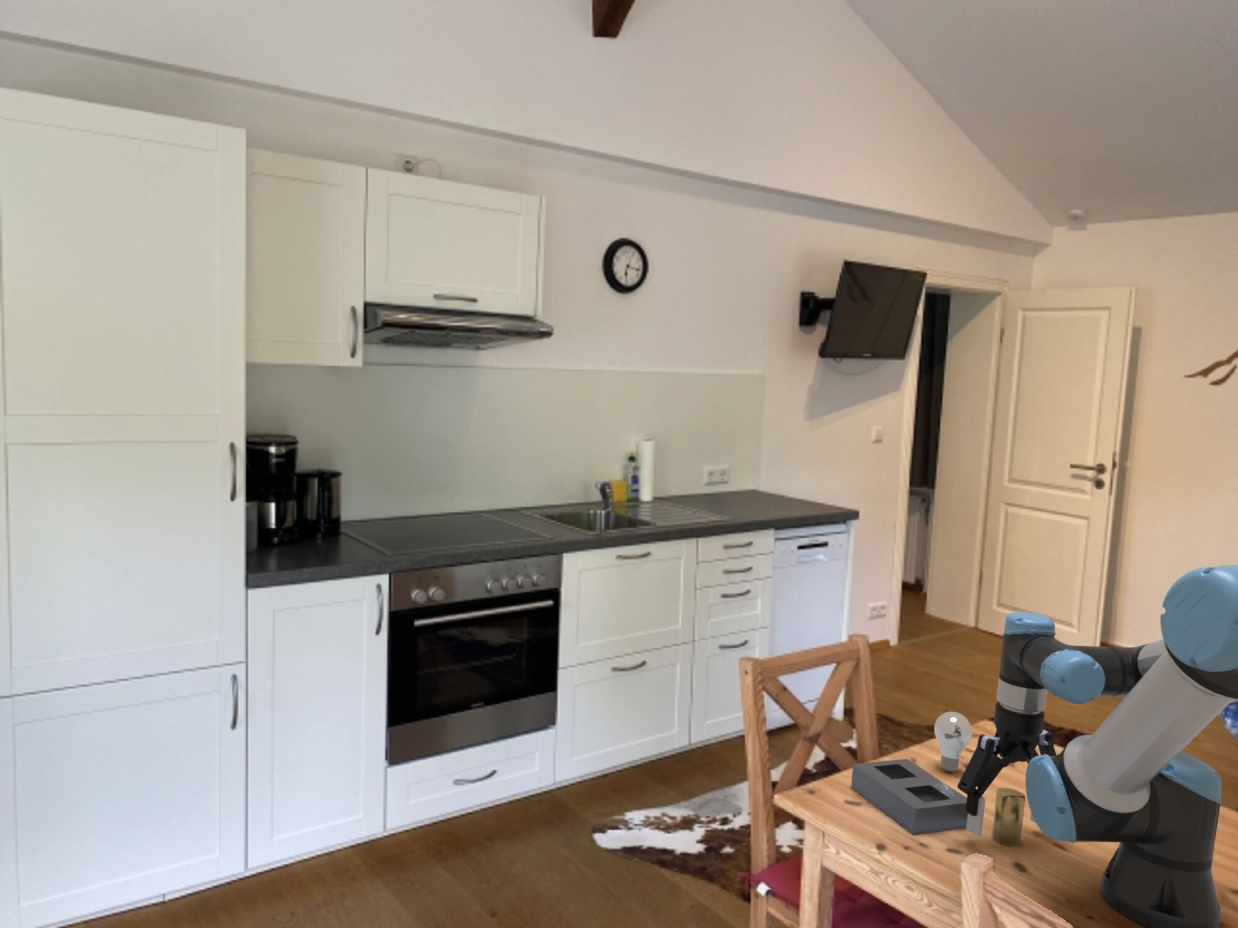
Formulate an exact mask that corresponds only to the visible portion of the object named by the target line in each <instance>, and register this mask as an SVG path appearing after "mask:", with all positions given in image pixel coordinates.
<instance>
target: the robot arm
mask: <svg viewBox="0 0 1238 928" xmlns="http://www.w3.org/2000/svg"><path fill="white" fill-rule="evenodd" d="M1161 606H1162V608H1163V609H1164V613H1161V614H1160V617H1159V620H1160V621H1159V622H1160V629H1161V635H1162V639H1160V640H1156V641H1152V642H1150V643H1145V644H1141V645H1138V646H1133V647H1131V646H1130V647H1124V646H1123V647H1122V646H1121V647H1119V646H1117V647H1116V646H1114V647H1113V646H1099V645H1098V646H1095V645H1075V644H1074V645H1071V644H1066V643H1064V642H1062V641H1060V640H1059V639H1057V638H1055V636H1056V624H1055V621H1054V620H1053V619H1052V618H1051V617H1048V616H1047V615H1043V614H1039V613H1034V612H1028V611H1015V612H1014V611H1013V612H1011V613H1009V614H1007V616H1006V618H1005V624H1004V629H1003V632H1002V635H1001V636H1002V642H1001V650H1000V661H999V663H1000V664H999V671H998V672H999V674H998V675H999V676H998V681H997V691H996V700H997V702H996V703H995V707H994V717H993V723H994V726H995V730H996V731H995V733H994V735H993V736H987V735H985V734H984V733H981V734H980V735H979V736H978V740H977V744H976V748H975V750H974V752H973V754H972V756H971V758H970V759H969V762H968V764H967V766H966V768H965V770H964V771H963V774H962V775H961V777H960V779H959V781H958V783H957V789H958V790H960V792H962V793H964V794H965V795H967V804H966V812H967V813H968V817H967V826H966V828H965V829H966V830H968V831H969V832H970V833H971V834H973V835H974V836H976V837H977V838H979V837H982V834H983V824H984V816H985V806H986V797H984V796H983V795H984V793H986V791H987V790H988V788H989V787H990V786H991V785H992V784H993V782H994V781H995V779H996V778H997V776H998V775H999V774H1000V773H1001V771H1002V770H1003V769H1004V768H1007V767H1008V766H1009V765H1010V764H1015V763H1018V762H1021V763H1024V762H1026V763H1027V767H1026V770H1025V792H1026V793H1025V794H1026V798H1027V804H1028V807H1029V810H1030V818H1029V821H1031V822H1033V823H1034V824H1036V826H1037V827H1038V828H1039V829H1040V831H1041V832H1042V833H1043V834H1044V835H1045V836H1047V837H1048V838H1049V839H1051V840H1053V841H1059V842H1069V843H1071V844H1074V843H1119V845H1118V846H1117V848H1116V850H1115V852H1114V853H1113V855H1112V857H1111V859H1110V861H1109V862H1108V864H1107V866H1106V868H1105V870H1104V872H1103V874H1102V878H1101V885H1100V887H1101V888H1100V892H1101V895H1102V897H1103V898H1104V900H1105V901H1106V902H1107V903H1108V904H1109V905H1110V906H1111V907H1112V908H1113V909H1115V910H1116V911H1117V912H1119V914H1122V915H1123V916H1125V917H1126V918H1128V919H1130V920H1132V921H1134V922H1137V923H1138V924H1141V925H1143V926H1145V927H1147V928H1220V922H1221V915H1222V913H1221V912H1222V910H1221V906H1220V903H1219V901H1218V896H1217V890H1216V886H1215V880H1214V877H1213V871H1212V869H1213V868H1212V867H1213V859H1214V853H1215V852H1214V850H1215V845H1216V844H1215V843H1216V836H1217V829H1218V822H1219V815H1220V811H1221V810H1220V809H1221V805H1222V803H1223V802H1222V798H1221V797H1222V778H1221V776H1220V774H1219V773H1218V771H1217V770H1216V769H1214V768H1213V767H1212V766H1211V765H1209V764H1208V763H1206V762H1204V761H1202V760H1200V759H1198V758H1196V757H1194V756H1191V755H1189V754H1187V753H1185V752H1182V751H1183V750H1184V748H1186V747H1187V746H1188V745H1189V744H1190V743H1192V741H1193V740H1194V739H1195V738H1196V737H1197V736H1198V735H1199V734H1201V732H1202V731H1203V730H1204V729H1205V728H1206V727H1207V726H1208V725H1209V724H1210V723H1211V722H1212V721H1213V720H1214V719H1215V718H1216V717H1217V716H1218V715H1219V714H1220V713H1221V712H1222V711H1224V709H1226V707H1227V706H1229V704H1231V702H1233V701H1238V565H1236V564H1227V565H1226V564H1224V565H1220V566H1204V567H1199V568H1196V569H1192V570H1190V571H1188V572H1186V573H1185V574H1183V575H1182V576H1180V577H1179V578H1178V579H1176V581H1175V582H1174V583H1172V585H1171V586H1170V588H1169V589H1168V590H1167V592H1166V594H1165V597H1164V599H1163V602H1162V605H1161ZM1048 692H1049V693H1050V694H1052V695H1053V696H1055V697H1058V698H1059V699H1061V700H1064V701H1066V702H1068V703H1070V704H1074V705H1084V704H1085V705H1086V704H1088V703H1090V702H1091V701H1094V700H1096V699H1097V698H1098V697H1122V698H1123V697H1124V698H1123V699H1122V700H1121V702H1119V704H1118V705H1117V706H1116V707H1115V708H1114V709H1113V711H1112V712H1111V713H1110V714H1109V715H1108V716H1107V718H1106V719H1105V720H1104V721H1103V722H1102V723H1101V724H1100V726H1099V727H1098V728H1097V729H1096V730H1095V731H1094V732H1093V734H1083V735H1079V736H1077V737H1074V738H1073V739H1072V740H1070V742H1068V743H1067V745H1066V746H1065V747H1064V748H1063V750H1062V751H1061V752H1060V753H1059V754H1057V752H1056V749H1055V735H1054V733H1051V732H1049V731H1047V730H1046V729H1044V724H1045V715H1046V713H1045V710H1046V708H1047V699H1048ZM1037 747H1038V750H1039V753H1038V752H1037V750H1036V748H1037ZM998 755H999V756H998Z"/></svg>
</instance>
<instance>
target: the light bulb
mask: <svg viewBox="0 0 1238 928" xmlns="http://www.w3.org/2000/svg"><path fill="white" fill-rule="evenodd" d="M933 730H934V736H935V738H936V740H937V742H938V743H939V748H940V749H939V750H940V754H941V757H940V758H941V759H940V766H941V767H942V769H943V770H945V772H947V773H948V774H949V773H953V772H955V771H957V770H958V768H959V766H960V765H959V764H960V758H961V756H962V753H963V750H964V749H965V747H967V745H968V744H969V743H970V741H971V739H972V736H973V729H972V725H971V723H970V721H969V720H968V718H967V717H965V715H963V714H961V713H960V712H957V711H946V712H944V713H942V714H940V715H939V717H938V718H937V719H936V720H935V722H934V729H933Z"/></svg>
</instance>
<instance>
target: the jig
mask: <svg viewBox="0 0 1238 928" xmlns="http://www.w3.org/2000/svg"><path fill="white" fill-rule="evenodd" d="M850 784H851V785H850V788H851V789H853V790H854V791H855V792H856V793H858V795H860V796H862V797H863V798H864V799H866V800H867V801H868V802H870V803H871V805H873V806H874V807H876V808H877V809H879V810H880V811H882V813H884V814H885V815H887V816H888V817H889V818H890V819H892V820H893V821H894V822H896V823H897V824H898V825H899V826H900V827H902V828H903V829H905V830H906V831H908V832H909V833H910V834H911V835H914V836H915V835H922V834H929V833H930V834H931V833H938V832H944V831H951V830H959V829H960V830H961V829H966V826H967V817H968V813H967V812H966V804H967V797H966V796H965V795H964V794H962V793H960V792H959V791H958V790H955V789H954V788H953V787H952V786H950V785H948V784H946V782H943V780H941V779H939V778H937V777H936V776H934V775H933V774H932V773H929V772H928V771H926V770H925V769H923V768H922V767H920V766H919V765H917V764H916V763H914V762H912V761H911V760H910V759H908V758H902V759H900V758H899V759H892V760H891V759H890V760H882V761H872V762H862V763H853V764H852V774H851V783H850Z"/></svg>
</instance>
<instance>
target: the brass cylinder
mask: <svg viewBox="0 0 1238 928" xmlns="http://www.w3.org/2000/svg"><path fill="white" fill-rule="evenodd" d="M995 795H996V797H995V805H994V815H993V822H992V824H993V825H992V834H991V838H992V839H993V840H994V841H995V842H997V843H998V844H1000V845H1003V846H1007V847H1019V846H1020V845H1021V842H1022V841H1021V840H1022V831H1023V822H1024V814H1025V802H1026V795H1025V794H1024V793H1023V792H1021V791H1019V790H1016V789H1013V788H1009V787H1000V788H998V789H996V794H995Z"/></svg>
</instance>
